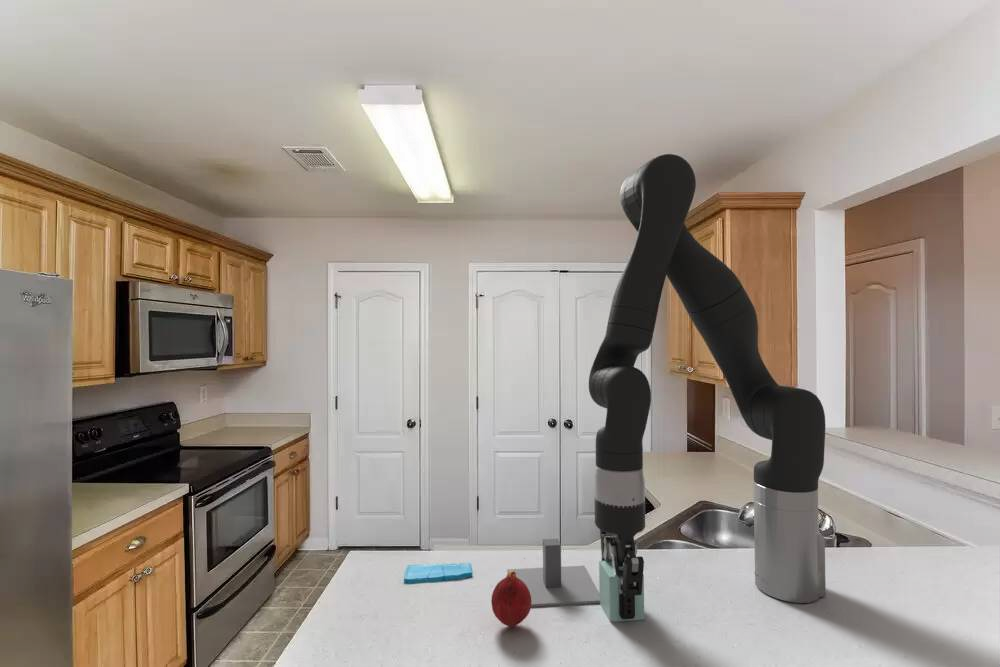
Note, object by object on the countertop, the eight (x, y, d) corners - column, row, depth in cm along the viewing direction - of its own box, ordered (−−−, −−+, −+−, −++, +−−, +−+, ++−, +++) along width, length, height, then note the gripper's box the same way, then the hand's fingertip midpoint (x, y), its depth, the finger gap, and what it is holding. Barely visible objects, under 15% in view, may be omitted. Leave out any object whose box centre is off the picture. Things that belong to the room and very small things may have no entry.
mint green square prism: (631, 601, 80) (631, 559, 80) (644, 619, 74) (643, 574, 74) (599, 603, 79) (599, 561, 79) (609, 621, 74) (609, 576, 74)
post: (558, 579, 86) (557, 538, 86) (561, 587, 83) (560, 544, 83) (543, 580, 86) (542, 539, 86) (545, 588, 83) (545, 545, 83)
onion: (528, 641, 69) (527, 583, 70) (487, 636, 71) (487, 579, 71) (534, 617, 75) (533, 564, 75) (496, 614, 76) (495, 561, 76)
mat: (584, 567, 91) (584, 565, 91) (603, 602, 79) (603, 600, 79) (507, 571, 90) (507, 569, 90) (514, 607, 78) (514, 605, 78)
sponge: (471, 579, 86) (473, 559, 92) (401, 580, 86) (407, 561, 92) (472, 587, 86) (473, 567, 92) (401, 589, 86) (407, 569, 92)
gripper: (662, 511, 70) (663, 633, 70) (627, 481, 84) (628, 583, 84) (609, 513, 69) (610, 636, 69) (583, 482, 84) (584, 585, 84)
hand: (620, 606), depth 77 cm, fingers closed on mint green square prism, 5 cm apart
